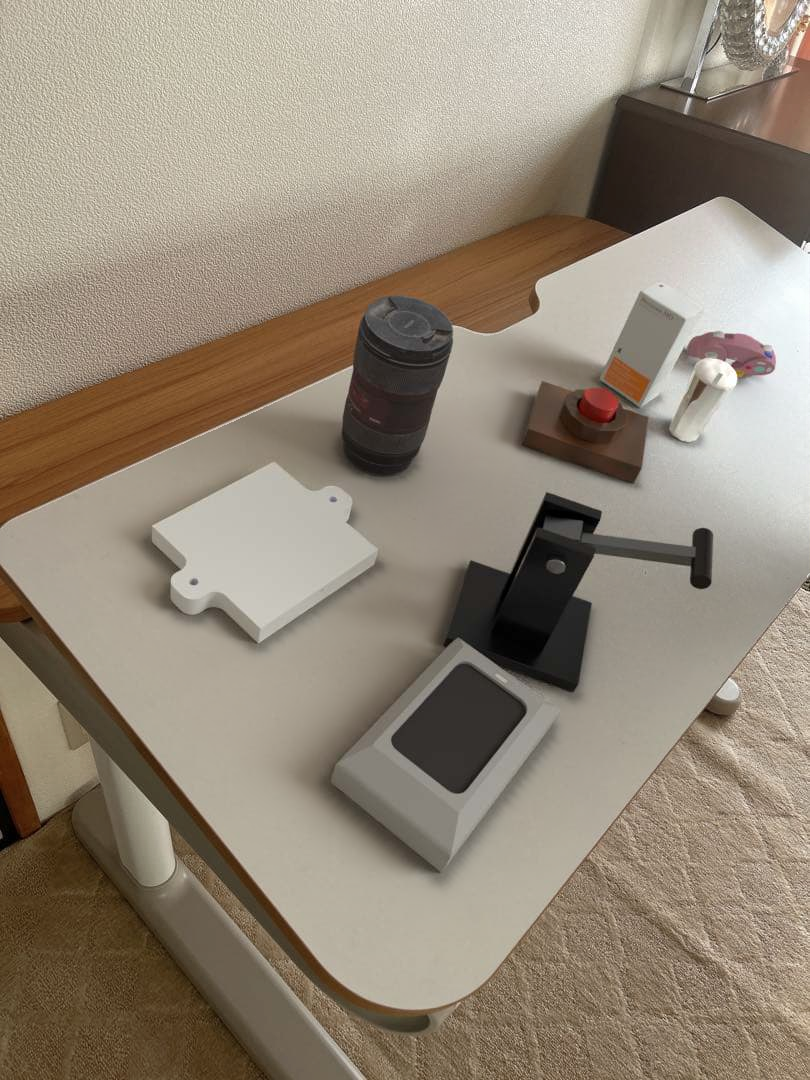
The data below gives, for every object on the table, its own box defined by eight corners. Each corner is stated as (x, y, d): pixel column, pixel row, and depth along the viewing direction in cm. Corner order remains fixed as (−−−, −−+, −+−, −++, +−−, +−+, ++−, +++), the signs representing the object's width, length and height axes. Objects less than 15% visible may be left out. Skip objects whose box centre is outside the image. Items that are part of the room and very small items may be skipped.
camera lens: (320, 457, 83) (345, 322, 72) (359, 414, 88) (388, 282, 77) (396, 495, 81) (433, 362, 71) (431, 448, 87) (471, 319, 76)
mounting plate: (232, 661, 66) (234, 646, 64) (125, 556, 70) (125, 539, 69) (394, 550, 77) (398, 536, 75) (292, 466, 81) (294, 450, 80)
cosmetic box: (597, 380, 101) (638, 289, 92) (616, 368, 103) (658, 278, 95) (640, 410, 99) (686, 319, 90) (659, 397, 101) (706, 307, 93)
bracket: (587, 610, 77) (646, 508, 67) (573, 692, 70) (636, 591, 61) (467, 568, 77) (509, 460, 68) (442, 646, 71) (485, 538, 62)
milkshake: (658, 439, 96) (699, 365, 88) (666, 413, 99) (706, 339, 92) (698, 456, 95) (742, 382, 88) (705, 429, 99) (748, 356, 92)
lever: (710, 547, 66) (715, 523, 64) (708, 595, 62) (714, 571, 61) (547, 526, 69) (548, 503, 67) (536, 571, 65) (537, 547, 64)
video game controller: (679, 373, 108) (703, 345, 102) (684, 341, 110) (709, 312, 103) (755, 395, 109) (785, 368, 102) (760, 363, 110) (789, 334, 103)
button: (613, 407, 92) (620, 394, 90) (610, 427, 89) (616, 414, 88) (580, 396, 92) (586, 382, 90) (576, 416, 89) (582, 402, 88)
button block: (640, 432, 96) (655, 403, 93) (633, 483, 90) (649, 454, 87) (535, 396, 96) (547, 366, 94) (521, 445, 90) (533, 414, 87)
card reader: (338, 755, 58) (461, 626, 68) (330, 782, 61) (450, 653, 70) (454, 849, 55) (566, 700, 65) (441, 872, 58) (550, 726, 68)
